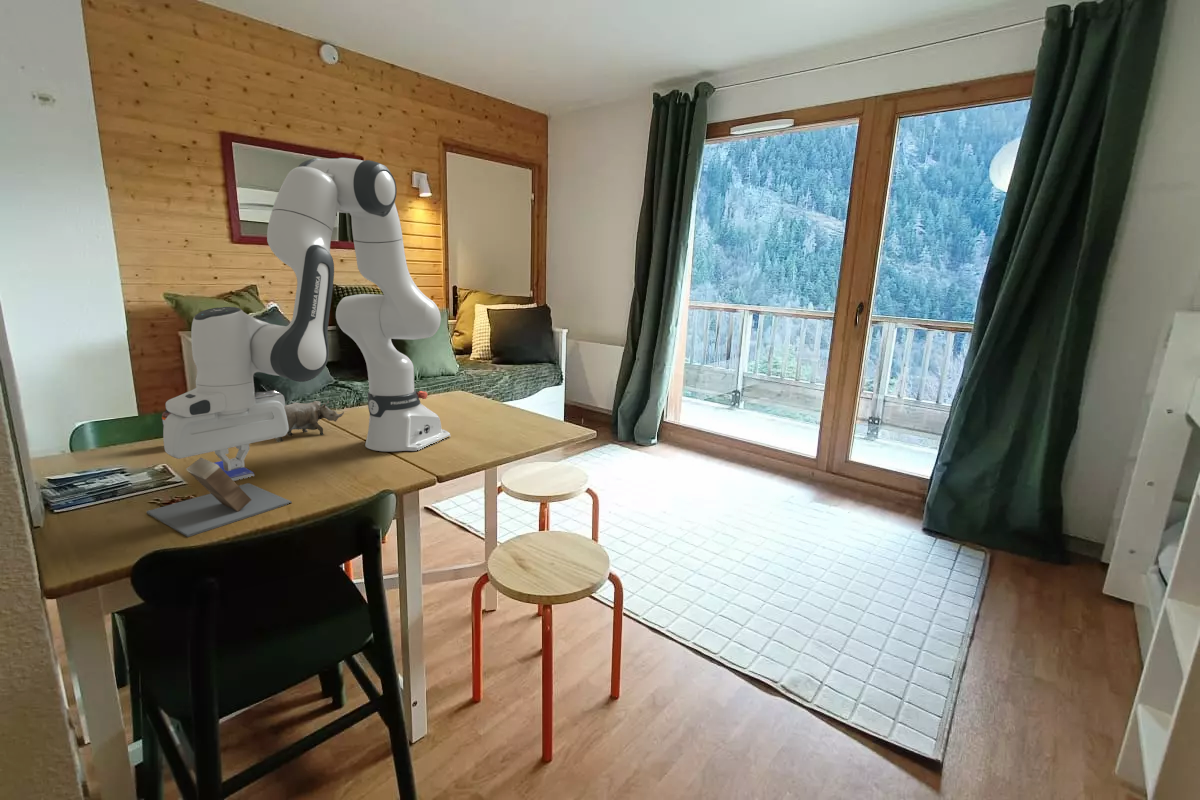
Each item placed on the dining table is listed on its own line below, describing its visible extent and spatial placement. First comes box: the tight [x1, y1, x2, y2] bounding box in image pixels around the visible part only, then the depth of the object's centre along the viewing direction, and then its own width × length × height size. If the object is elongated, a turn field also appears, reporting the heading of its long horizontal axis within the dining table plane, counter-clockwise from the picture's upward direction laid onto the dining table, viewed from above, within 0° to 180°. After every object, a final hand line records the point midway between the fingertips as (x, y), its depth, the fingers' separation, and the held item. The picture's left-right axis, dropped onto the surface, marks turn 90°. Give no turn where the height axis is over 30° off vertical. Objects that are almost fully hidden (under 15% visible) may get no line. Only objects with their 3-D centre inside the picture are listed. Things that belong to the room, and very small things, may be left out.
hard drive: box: [214, 460, 255, 482], centre depth 125 cm, size 2×8×12 cm
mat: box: [146, 482, 292, 538], centre depth 108 cm, size 18×16×1 cm
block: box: [185, 457, 251, 512], centre depth 105 cm, size 3×6×10 cm
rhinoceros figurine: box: [274, 400, 345, 443], centre depth 154 cm, size 8×14×15 cm
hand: (234, 468), depth 107 cm, fingers closed
